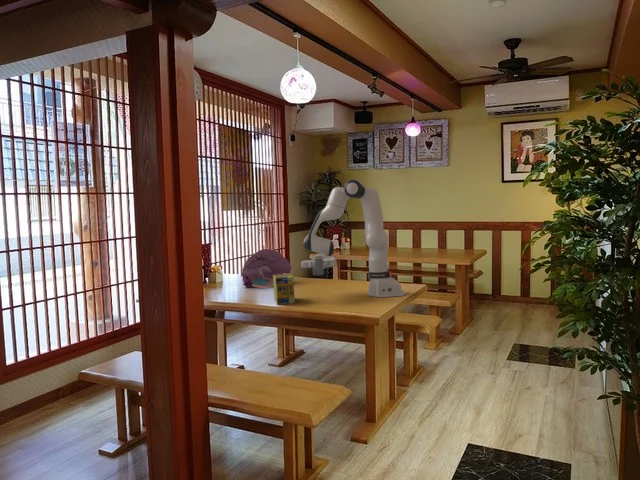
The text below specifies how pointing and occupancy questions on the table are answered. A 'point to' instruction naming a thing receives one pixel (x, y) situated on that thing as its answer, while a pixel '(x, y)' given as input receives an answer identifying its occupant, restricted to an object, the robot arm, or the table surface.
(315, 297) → the table surface
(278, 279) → the protein box
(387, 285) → the robot arm
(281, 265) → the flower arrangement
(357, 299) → the table surface
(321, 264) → the tumbler
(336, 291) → the table surface
